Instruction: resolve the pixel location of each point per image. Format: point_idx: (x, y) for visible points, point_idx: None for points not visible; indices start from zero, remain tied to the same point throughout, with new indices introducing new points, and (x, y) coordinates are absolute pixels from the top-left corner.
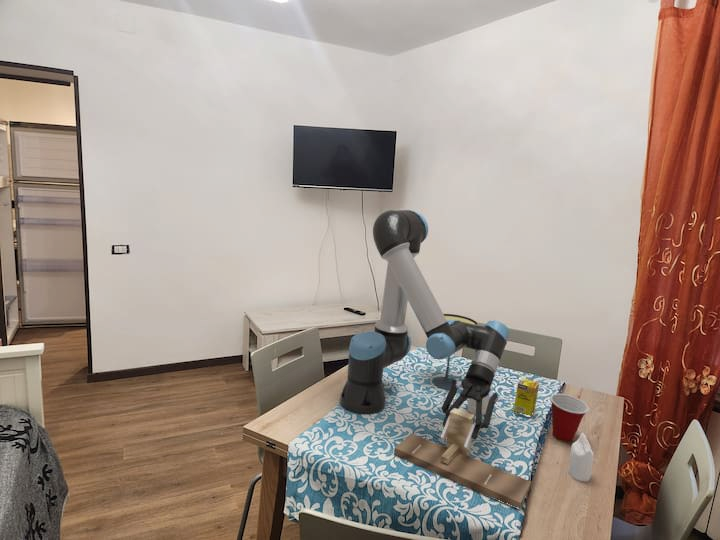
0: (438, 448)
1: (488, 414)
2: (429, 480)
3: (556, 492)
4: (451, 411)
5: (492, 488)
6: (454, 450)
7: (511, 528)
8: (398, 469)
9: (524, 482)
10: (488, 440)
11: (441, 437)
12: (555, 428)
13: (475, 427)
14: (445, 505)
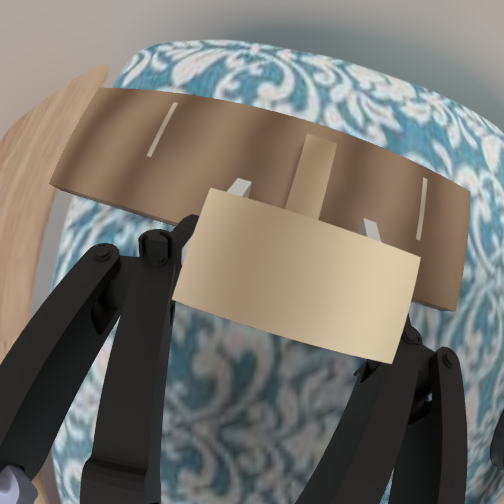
0: None
1: (49, 310)
2: (339, 109)
3: (19, 208)
4: (410, 271)
5: (155, 98)
6: (292, 203)
7: (140, 51)
8: (423, 134)
9: (64, 170)
10: (164, 427)
11: (370, 222)
12: None
13: (180, 255)
14: (279, 48)
